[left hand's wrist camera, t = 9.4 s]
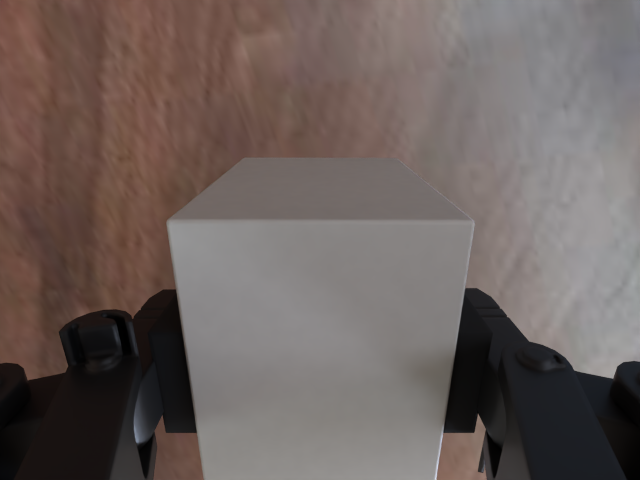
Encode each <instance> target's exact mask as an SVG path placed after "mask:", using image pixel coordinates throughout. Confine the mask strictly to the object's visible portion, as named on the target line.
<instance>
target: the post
mask: <svg viewBox="0 0 640 480" xmlns="http://www.w3.org/2000/svg"><path fill="white" fill-rule="evenodd" d="M474 226H475V223H474V220H473V219H471V218H470V217H469V216H468V215H466V214H465V213H464V212H463V211H461V210H460V209H459V208H458V207H457V206H455V205H454V204H453V203H452V202H450V201H449V200H448V199H447V198H445V197H444V196H443V195H442V194H440V193H439V192H438V191H437V190H436V189H434V188H433V187H432V186H431V185H429V184H428V183H427V182H426V181H424V180H423V179H422V178H421V177H420V176H418V175H417V174H416V173H415V172H413V171H412V170H411V169H410V168H408V167H407V166H406V165H405V164H403V163H402V162H401V161H400V160H399V159H397V158H243V159H242V160H241V161H239V162H238V163H237V164H236V165H235V166H233V167H232V168H231V169H230V170H228V171H227V172H226V173H225V174H223V175H222V176H221V177H220V178H218V179H217V180H216V181H215V182H214V183H212V184H211V185H210V186H209V187H207V188H206V189H205V190H204V191H202V192H201V193H200V194H199V195H197V196H196V197H195V198H194V199H193V200H191V201H190V202H189V203H188V204H186V205H185V206H184V207H183V208H181V209H180V210H179V211H178V212H176V213H175V214H174V215H173V216H172V217H170V218H169V219H168V220H167V230H168V237H169V244H170V251H171V258H172V265H173V271H174V278H175V285H176V292H177V299H178V306H179V313H180V319H181V326H182V333H183V340H184V347H185V354H186V360H187V367H188V374H189V381H190V388H191V395H192V402H193V408H194V415H195V422H196V429H197V436H198V443H199V449H200V456H201V463H202V470H203V477H204V480H436V476H437V470H438V463H439V456H440V450H441V443H442V437H443V430H444V424H445V417H446V410H447V404H448V397H449V391H450V384H451V377H452V371H453V364H454V358H455V351H456V344H457V338H458V331H459V325H460V318H461V311H462V305H463V298H464V292H465V285H466V278H467V272H468V265H469V259H470V252H471V245H472V239H473V232H474Z"/></svg>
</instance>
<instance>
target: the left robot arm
mask: <svg viewBox="0 0 640 480" xmlns="http://www.w3.org/2000/svg"><path fill="white" fill-rule="evenodd" d="M59 335H60V338H61V342H62V345H63V349H64V352H65V356H66V359H67V363H68V368H67V370H66V372H65V373H62V374H58V375H53V376H48V377H43V378H38V379H33V380H27V377H26V374H25V371H24V368H22V367H21V366H20V365H18V364H13V363H2V364H0V480H153V477H154V469H155V460H156V452H157V443H156V437H155V432H154V431H155V428H156V426H157V424H158V422H159V420H160V418H161V416H162V414H163V419H164V425H165V430H166V433H197V429H196V422H195V415H194V408H193V402H192V395H191V388H190V381H189V374H188V367H187V360H186V354H185V347H184V340H183V333H182V326H181V319H180V313H179V306H178V299H177V292H176V290H162V291H160V292H159V293H157V294H155V295H154V296H152V297H150V298H149V299H148V300H147V302H146V303H145V304H144V305H143V306H142V308H141V310H139V311H138V312H137V313H136V315H135V316H134V319H132V317H131V315H130V314H128V313H127V312H126V311H121V310H101V311H97V312H92V313H89V314H86V315H83V316H81V317H78V318H76V319H74V320H73V321H71V322H69V323H68V324H66V325H65V326H64V327H63V328H62V329H61V330H60V331H59ZM478 414H479V416H480V418H481V420H482V422H483V424H484V426H485V428H486V432H485V437H484V442H483V447H482V452H481V457H480V462H479V468H478V472H481V473H483V471H484V467H485V468H486V476H487V480H640V362H637V361H631V362H623V363H622V364H620V365H619V366H618V367H617V369H616V372H615V375H614V378H613V379H611V378H606V377H601V376H596V375H591V374H586V373H581V372H577V371H574V370H573V368H572V366H571V364H570V363H569V362H568V361H567V359H566V358H565V357H563V356H562V355H561V354H559V353H558V352H556V351H555V350H553V349H550V348H548V347H546V346H544V345H541V344H537V343H533V342H529V341H528V340H527V339H526V337H525V336H524V335H523V334H522V333H521V332H520V330H519V329H518V328H517V327H516V326H515V324H514V323H513V322H512V321H511V320H510V319H509V317H507V315H506V314H505V313H504V311H503V310H502V309H500V307H499V306H498V304H497V303H496V302H495V301H494V300H493V298H492V297H490V296H489V295H487V294H486V293H484V292H482V291H481V290H479V289H477V288H465V292H464V298H463V305H462V311H461V318H460V325H459V331H458V338H457V344H456V351H455V358H454V364H453V371H452V377H451V384H450V391H449V397H448V404H447V410H446V417H445V424H444V430H443V433H474V432H475V426H476V421H477V416H478Z"/></svg>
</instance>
